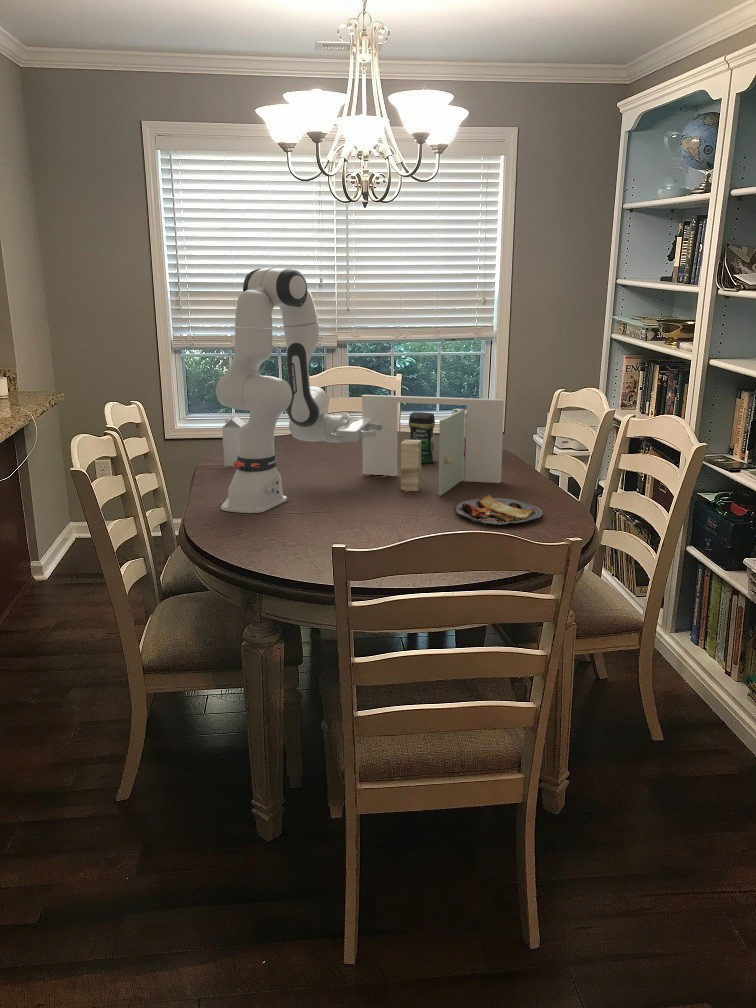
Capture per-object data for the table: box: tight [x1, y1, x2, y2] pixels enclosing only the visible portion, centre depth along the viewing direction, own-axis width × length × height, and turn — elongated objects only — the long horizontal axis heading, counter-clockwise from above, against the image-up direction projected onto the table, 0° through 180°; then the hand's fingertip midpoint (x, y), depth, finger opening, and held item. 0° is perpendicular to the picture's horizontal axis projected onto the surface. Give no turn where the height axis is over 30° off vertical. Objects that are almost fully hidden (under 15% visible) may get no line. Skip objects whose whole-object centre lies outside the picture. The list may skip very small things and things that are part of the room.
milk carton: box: [221, 412, 247, 467], centre depth 295 cm, size 7×7×19 cm
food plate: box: [454, 494, 543, 525], centre depth 236 cm, size 25×23×4 cm
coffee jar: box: [408, 411, 436, 464], centre depth 300 cm, size 10×8×19 cm
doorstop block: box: [400, 439, 422, 492], centre depth 263 cm, size 6×6×16 cm
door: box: [437, 408, 466, 496], centre depth 262 cm, size 3×22×24 cm, turn 156°
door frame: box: [361, 394, 505, 484], centre depth 274 cm, size 2×48×28 cm, turn 76°
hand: (378, 430), depth 262 cm, fingers open, 8 cm apart
